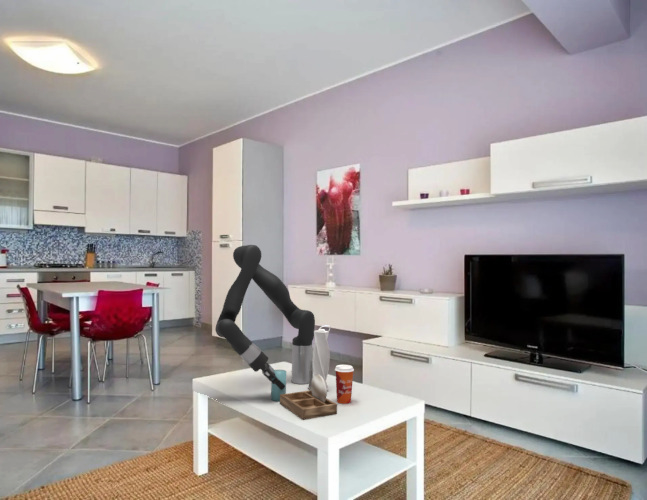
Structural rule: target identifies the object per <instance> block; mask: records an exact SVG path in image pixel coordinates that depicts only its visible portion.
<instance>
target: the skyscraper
mask: <svg viewBox="0 0 647 500" xmlns="http://www.w3.org/2000/svg"><path fill="white" fill-rule="evenodd" d="M323 327H328V328H329V329H328V330H326V329H324V328H323ZM331 328H332V326H331V325H328V324H327V325H321V326H320V327H319V328H318V330H315V329H314V343H313V348H312V361H313V377H314V376H315V375H320V376H322V378H323V379H324V381H325V384H326V390H327V393H328V392H329V391H330V390H329V388H328V384H327V380H328V379H327V378H328V375H329V368H330V359H331V358H330V348H329V342H328V340H329V335H330V330H331ZM311 382H312V364H311V363H310V370H309V383H308V387H307V390H308V391H309V390H311Z"/></svg>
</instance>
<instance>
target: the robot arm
mask: <svg viewBox="0 0 647 500" xmlns="http://www.w3.org/2000/svg"><path fill="white" fill-rule="evenodd" d="M232 257H233V261H234V262H235V264H236V265H237V266H238V268H239V269H240V272H239V273H238V275H237V277H236V279H235V280H234V282H233V283H232V285H231V286H230V287H229V290H228V291H227V294H226V296H225V298H224V301H223V302H224V303H223V305H222V310H221V311H220V314H219V317H218V318H217V319H218V320H217V321H216V324H215V333H216V335H218V337H220V338H223V339H225V340H226V341H227V342H228V343H229V344H230V346H231V348H232V349H233V350H234V351H235V352H236V354H237V355H239V356H240V357H241V359H242V360H243V362H245V363H246V364H247V366H249V367H250V368H251V369H252V370H253V371H254V372H256V373H257V372H258V371H260V370H261V372H262V375H263V376H265V378H267V380H269V382H272V383H273V384H276V385H277V386H278V387H279V388H280V389H281V390H283V389H284V388H285V385H284V384H283V383H282V382H281V381H280V380H279V378H277V376H276V374H275V372H274V371H273V370H275V369H274V368H273V367H272V366H271V364H269V362H268V361H269V357H268V356H267V355H266V354H265V353H264V351H262V350H261V348H259V347H258V346H257V345H256V344H255V343H254V342H253V341H251V340H250V339H249V337H248V336H246V335H245V334H244V333H243V331H242V329H240V327H239V326H238V324H237V323H236V320H237V317H238V315H239V314H240V311H241V309H242V306H243V302H244V298H245V296H246V294H247V293H246V292H247V290H248V288H249V285H250V284H251V281H252V280H253V282H254V283H255V284H256V285H257V286H258V288H260V289H261V291H263V293H264V294H265V295H266V297H267V298H268V299H269V300H270V301H271V302H272V303H273V304H274V305H275V306H276V308H277V309H279V311H280V312H281V313H282V315H283V316H284V317H285V318H286V320H287V322H288V323H289V325H291V326H292V328H293V329H297V330H298V331H297V336H294V337H293V338H292V343H291V344H292V345H291V346H292V347H291V349H292V350H291V352H292V353H291V383H293V384H298V385H305V384H306V385H308V384H309V370H310V363H311V364H312V379H313V377H314V373H313V341H314V339H315V336H314V331H315V328H316V327H315V326H316V318H315V314H314V312H312V311H311V310H307V309H302V308H300V307H298V305H296V304H295V303H294V302H293V301H292V298H291V296H290V295H291V293H290V291H289V289H288V287H287V286H286V284H285V283H284V282H283V281H282V280H281V278H279V277H278V276H277V275H276V274H274V273H273V272H271V271H269V270H267V269H266V268H264V267H263V266H262V265H261V264H260V263H261V259H262V250H261V248H260V247H259V246H257V245H256V244H247V245H240V246H238V247H236V248H235V249H234V250H233V251H232ZM273 378H275V379H274V380H273Z"/></svg>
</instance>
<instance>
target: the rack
mask: <svg viewBox="0 0 647 500" xmlns="http://www.w3.org/2000/svg"><path fill="white" fill-rule="evenodd" d="M327 395H328V392H327V390H326V384H325V381H324V379H323V378H322V376H320V375H315V376H314V375H313V379H312V382H311V390H309V389H308V390H305V391H296V392H289V393H286V394H281V395H280V401H279V404H280V405H281V406H282V407H284V408H285V409H287V410H288V411H290V412H291V413H292V414H294V415H295V416H297V417H298V418H300V419H301V420H303V421H304V420H310V419H315V418H320V417H327V416H332V415H333V416H334V415H337V414H338V404H337V403H336V402H334V401H332V400H330V399H329V398H327V397H328V396H327Z"/></svg>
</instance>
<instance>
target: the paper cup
mask: <svg viewBox="0 0 647 500" xmlns="http://www.w3.org/2000/svg"><path fill="white" fill-rule="evenodd" d="M334 371H335V383H336V384H335V385H336V386H335V387H336V388H335V389H336V402H337V403H338V404H343V405H347V404H350V403H351V402H352V395H353V381H354V380H353V378H354V377H353V376H354V371H355V369H354V367H353V366H352V365H350V364H337V365H336V366H335V368H334Z"/></svg>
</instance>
